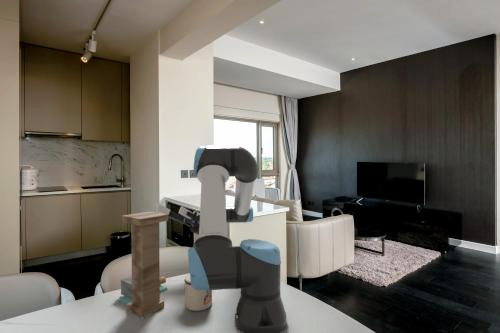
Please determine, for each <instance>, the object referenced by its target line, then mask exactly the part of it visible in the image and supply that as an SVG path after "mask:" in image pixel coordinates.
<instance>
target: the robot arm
mask: <svg viewBox="0 0 500 333" xmlns="http://www.w3.org/2000/svg"><path fill="white" fill-rule="evenodd" d="M193 175H194V176H195V177H197V180H198V182H199V183H201V184H200V202H199V203H200V206H199V207H200V209H199V214H198V212H197V211H194V212H192V211H191V210H189V209H187V208H186V207H184V206H180V208H179V210H178V213H177V212H175V211H174V210H171V209H169V208H168V207H166V206H164V205H162V204H161V203H157V205H156V207H155V210H156V211H157V212H158V213H163V214H168V219H171V220H173V221H176V222H178V223H181V224H182V225H186V226H188V227H189V229H190V231H191V232H192V233H194V234H195V235H198V237H197V238H196V239H195V240H194V242H193V246H192V247H189V248H188V249H187V252H188V254H187V255H188V256H187V258H188V268H189V274H190V279H191V285H192V287H193V289H195V290H207V291H209V290H212V291H217V290H218V291H219V290H234V289H235V290H237V289H238V290H239V289H240V296H239V299H238V303H237V305H236V306H237V307H236V309H235V312H234V325H235V327H236V328H237V329H238V330H239V331H240V332H242V333H280V332H282V331H284V329H285V328H286V325H287V312H286V311H285V306H284V303H283V300H282V297H281V264H282V260H281V251H280V248H279V246H277V244H274V243H272V242H270V241H267V240H262V239H253V238H252V239H251V238H250V239H249V238H248V239H243V240H241V242H240V243H239V246H237V245H236V246H233V241H232V239H231V238H230V237H228V233H227V232H228V231H227V230H228V227H227V223H228V224H232V223H235V224H237V223H246V224H247V223H251V222H253V220H254V209H253V207H252V206H251V205H252V204H251V202H252V197H253V190H254V185H255V181H256V180H257V179H258V176H259V166H258V163H257V160H256V158H255V157H254V155H253V154H252V153H251V152H250V151H249V150H247V149H246V148H244V147H242V146H240V145H239V146H237V145H232V146H231V145H229V146H227V145H225V146H224V145H202V146H201V145H200V146H198V147H197V148H196V151H195V154H194V162H193ZM230 177H234V178H235V179H236V180H235V190H234V191H235V192H234V203H233V206H227V202H226V199H227V197H226V196H227V195H226V183H227V182H228V180H229V178H230Z"/></svg>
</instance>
